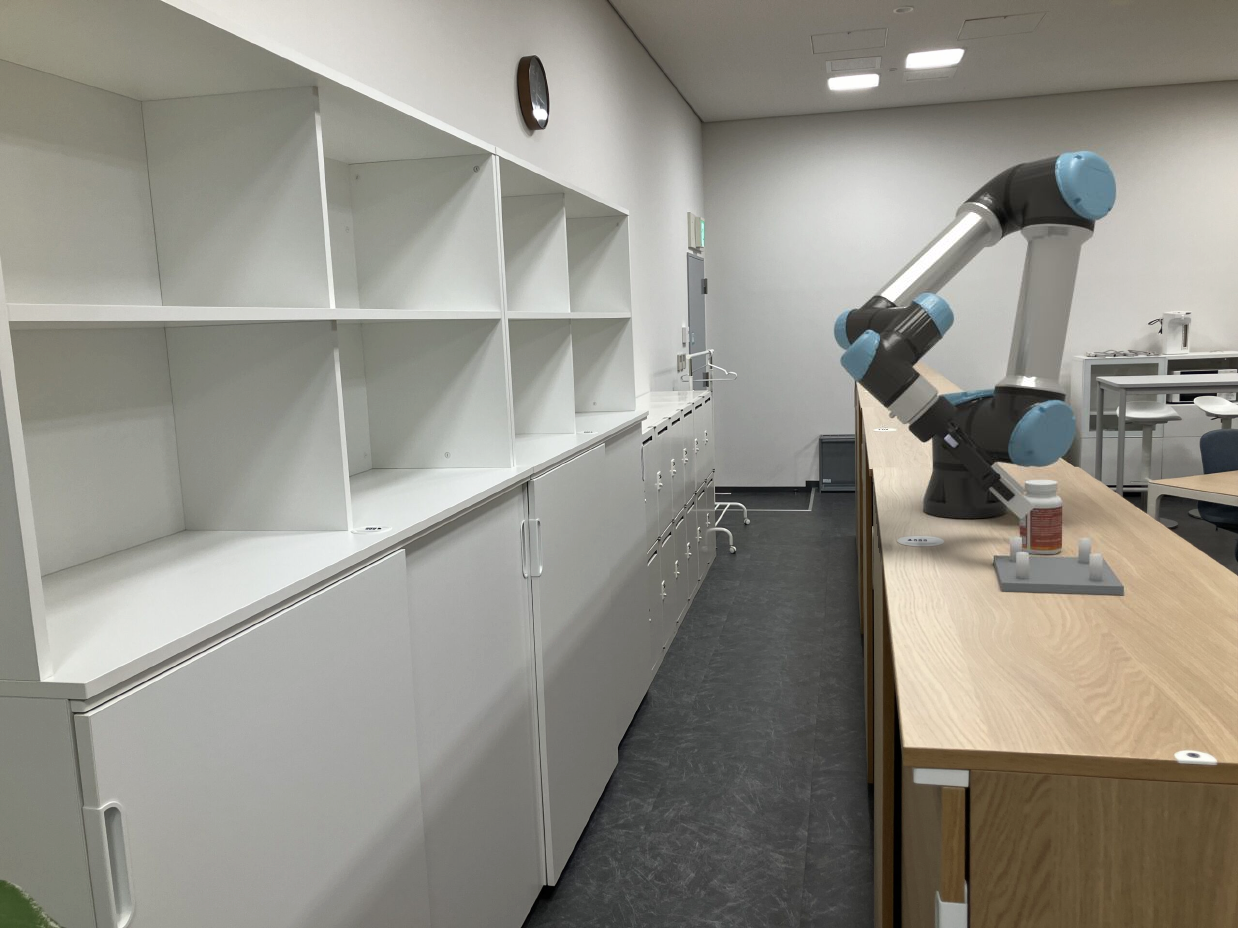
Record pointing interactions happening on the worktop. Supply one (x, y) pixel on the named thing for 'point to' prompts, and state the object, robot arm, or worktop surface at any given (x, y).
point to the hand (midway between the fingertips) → (1023, 504)
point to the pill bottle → (1042, 519)
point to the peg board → (1056, 572)
